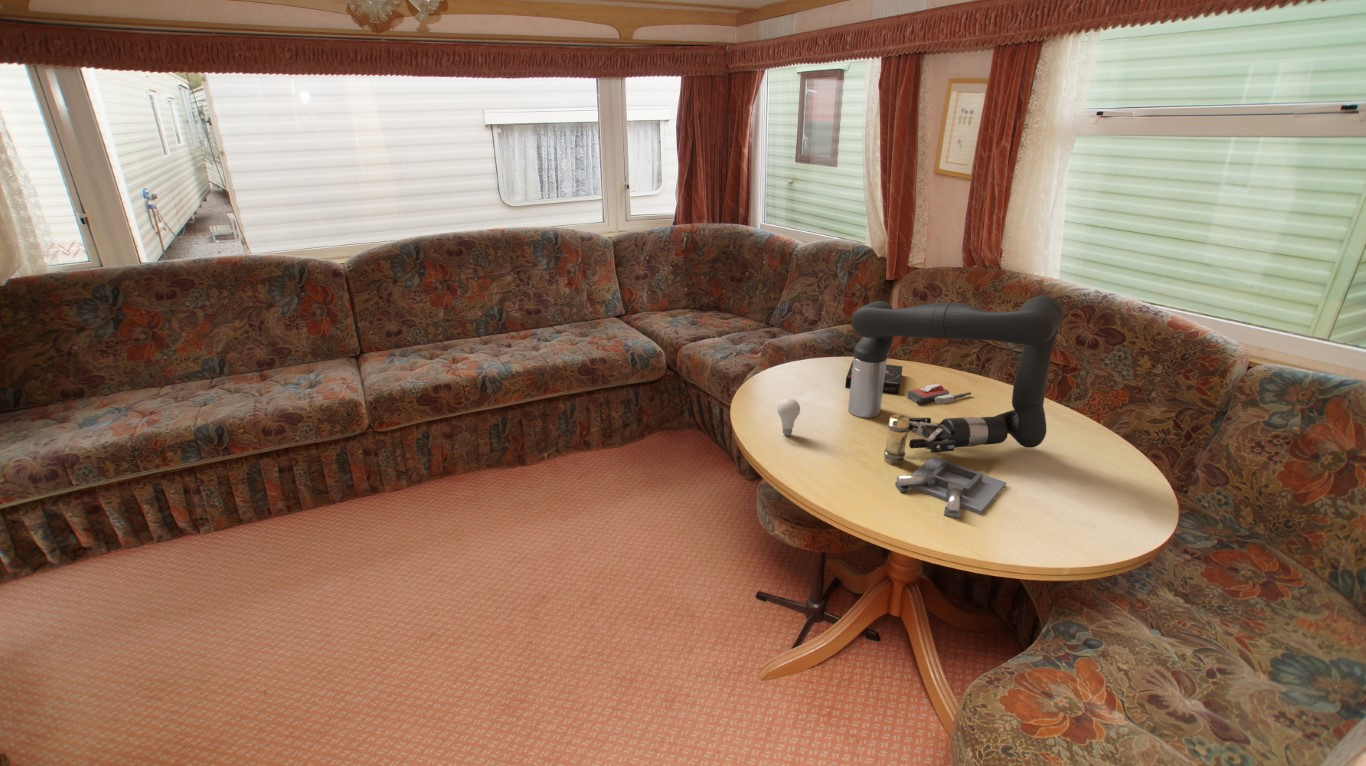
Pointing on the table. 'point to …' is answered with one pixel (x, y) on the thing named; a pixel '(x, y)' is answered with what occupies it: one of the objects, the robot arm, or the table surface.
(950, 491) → the shaft
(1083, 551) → the table surface
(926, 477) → the shaft
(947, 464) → the stand
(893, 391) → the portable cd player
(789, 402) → the lightbulb
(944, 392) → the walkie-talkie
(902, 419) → the gold cylindrical piece
